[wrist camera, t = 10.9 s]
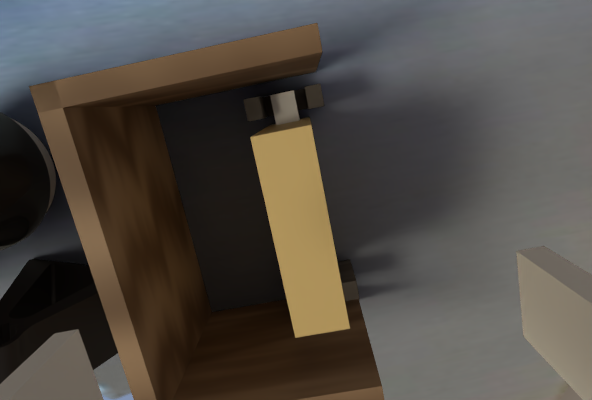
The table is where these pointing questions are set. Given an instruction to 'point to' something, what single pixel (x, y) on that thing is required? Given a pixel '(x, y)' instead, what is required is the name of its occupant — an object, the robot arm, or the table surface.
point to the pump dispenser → (22, 182)
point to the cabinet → (188, 233)
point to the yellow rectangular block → (299, 220)
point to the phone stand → (52, 313)
